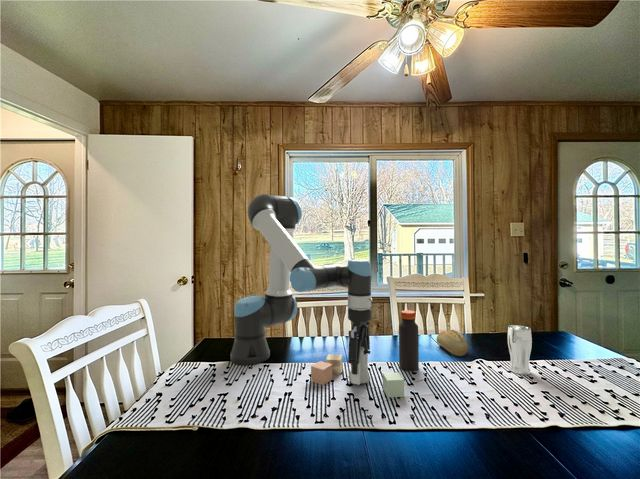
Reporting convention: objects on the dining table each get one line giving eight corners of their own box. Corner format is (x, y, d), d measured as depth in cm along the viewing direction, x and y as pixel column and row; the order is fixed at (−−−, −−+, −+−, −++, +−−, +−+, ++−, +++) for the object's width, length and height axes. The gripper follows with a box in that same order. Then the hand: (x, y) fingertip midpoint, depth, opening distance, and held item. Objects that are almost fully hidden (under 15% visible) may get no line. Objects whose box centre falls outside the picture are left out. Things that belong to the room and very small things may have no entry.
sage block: (387, 397, 88) (387, 380, 88) (382, 389, 93) (382, 372, 93) (404, 396, 88) (404, 379, 88) (398, 388, 93) (398, 372, 93)
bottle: (401, 362, 112) (400, 308, 112) (420, 365, 109) (419, 310, 109) (397, 369, 106) (396, 312, 106) (417, 372, 103) (416, 314, 103)
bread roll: (450, 343, 132) (450, 325, 132) (475, 356, 117) (474, 336, 117) (430, 345, 130) (430, 327, 130) (453, 358, 115) (453, 338, 115)
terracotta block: (311, 381, 98) (311, 366, 98) (320, 375, 102) (320, 360, 102) (323, 385, 95) (323, 369, 95) (332, 379, 99) (332, 364, 99)
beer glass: (528, 368, 106) (527, 325, 106) (535, 376, 99) (534, 331, 99) (505, 365, 108) (505, 324, 108) (510, 374, 102) (510, 329, 101)
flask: (370, 385, 93) (370, 353, 93) (347, 383, 95) (347, 351, 94) (370, 374, 100) (371, 345, 100) (349, 372, 102) (349, 343, 102)
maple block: (326, 373, 104) (326, 359, 104) (328, 367, 109) (328, 353, 109) (340, 374, 103) (340, 360, 103) (342, 368, 108) (342, 354, 108)
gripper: (360, 316, 87) (360, 395, 87) (379, 302, 104) (379, 368, 105) (336, 313, 90) (336, 389, 90) (358, 300, 108) (358, 364, 108)
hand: (359, 378), depth 97 cm, fingers closed on flask, 7 cm apart
